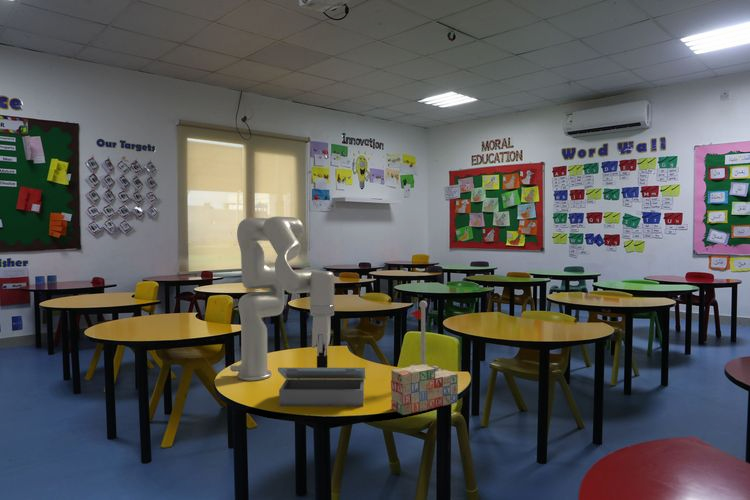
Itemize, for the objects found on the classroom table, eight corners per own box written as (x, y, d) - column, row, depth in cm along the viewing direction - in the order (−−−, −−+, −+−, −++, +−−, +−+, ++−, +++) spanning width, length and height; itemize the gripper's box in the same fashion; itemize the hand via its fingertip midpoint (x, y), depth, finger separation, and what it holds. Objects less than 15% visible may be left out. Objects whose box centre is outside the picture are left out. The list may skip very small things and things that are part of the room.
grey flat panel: (277, 374, 147) (277, 367, 148) (284, 382, 159) (285, 375, 160) (364, 374, 147) (364, 367, 148) (365, 382, 159) (365, 375, 160)
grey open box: (279, 406, 147) (279, 390, 147) (286, 393, 159) (286, 379, 159) (363, 406, 147) (363, 390, 147) (364, 394, 159) (364, 379, 159)
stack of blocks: (445, 397, 156) (445, 360, 156) (458, 403, 151) (458, 364, 151) (390, 409, 145) (390, 369, 145) (402, 415, 140) (402, 374, 140)
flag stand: (447, 382, 173) (447, 300, 173) (431, 391, 162) (431, 303, 162) (415, 376, 180) (415, 297, 180) (398, 385, 170) (398, 301, 169)
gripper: (313, 307, 158) (313, 362, 158) (307, 313, 143) (306, 374, 143) (336, 307, 158) (335, 362, 158) (332, 313, 143) (331, 374, 143)
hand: (322, 368), depth 150 cm, fingers closed
